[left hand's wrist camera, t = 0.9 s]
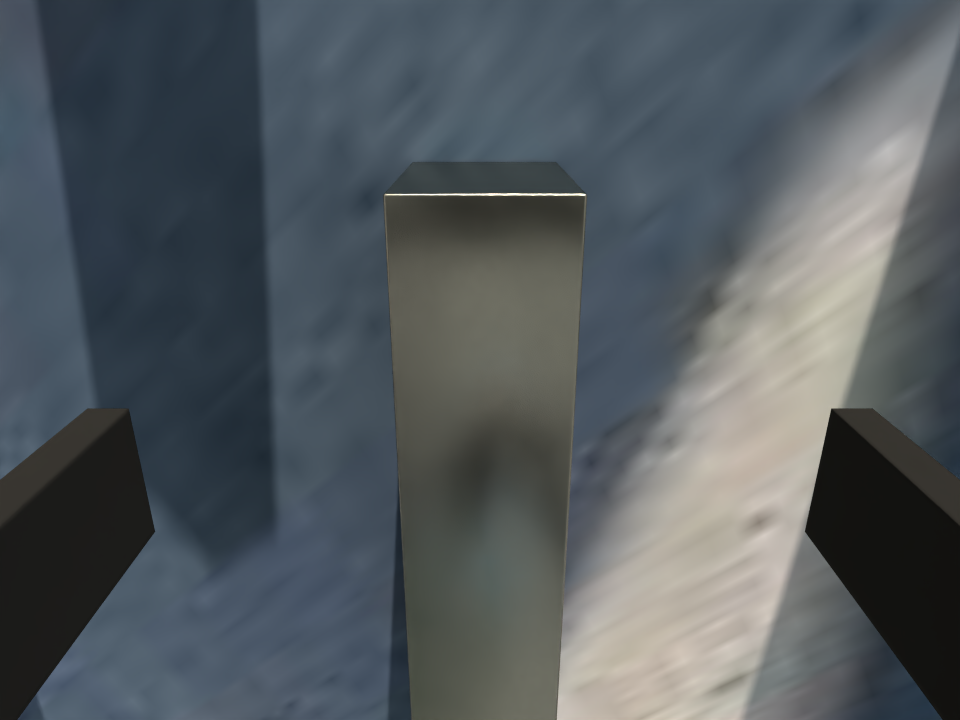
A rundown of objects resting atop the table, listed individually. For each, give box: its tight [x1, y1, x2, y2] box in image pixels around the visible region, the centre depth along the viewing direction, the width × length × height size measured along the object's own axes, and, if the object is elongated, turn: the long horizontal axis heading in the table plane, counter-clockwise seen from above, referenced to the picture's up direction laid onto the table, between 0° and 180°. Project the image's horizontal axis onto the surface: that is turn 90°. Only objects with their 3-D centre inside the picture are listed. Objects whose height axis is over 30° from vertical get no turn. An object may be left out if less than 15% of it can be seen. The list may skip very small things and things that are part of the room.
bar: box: [383, 162, 587, 720], centre depth 27 cm, size 24×6×8 cm, turn 0°
